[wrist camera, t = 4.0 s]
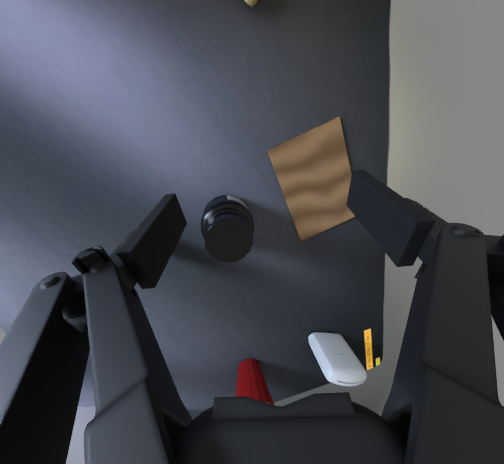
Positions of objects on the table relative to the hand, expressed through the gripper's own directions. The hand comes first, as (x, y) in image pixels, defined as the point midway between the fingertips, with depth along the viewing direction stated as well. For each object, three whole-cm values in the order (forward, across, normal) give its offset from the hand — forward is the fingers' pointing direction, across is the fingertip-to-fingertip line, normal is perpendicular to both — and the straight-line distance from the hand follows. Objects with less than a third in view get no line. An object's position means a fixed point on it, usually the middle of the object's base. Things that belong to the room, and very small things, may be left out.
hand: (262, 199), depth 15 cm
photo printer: (+13, +13, -52) cm, 55 cm away
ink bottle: (+19, -8, -12) cm, 24 cm away
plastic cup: (+8, -9, -55) cm, 57 cm away
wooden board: (+23, +11, -10) cm, 27 cm away
